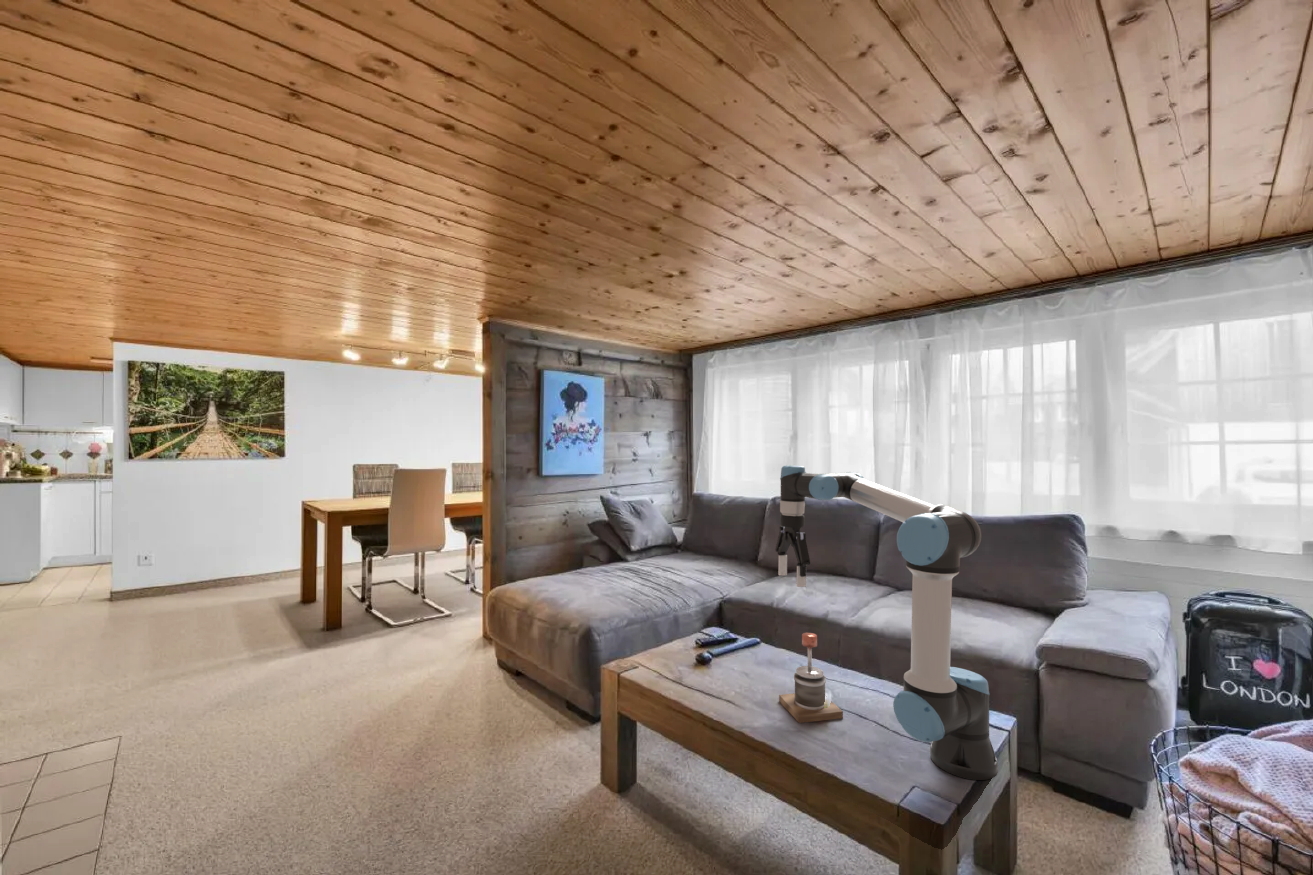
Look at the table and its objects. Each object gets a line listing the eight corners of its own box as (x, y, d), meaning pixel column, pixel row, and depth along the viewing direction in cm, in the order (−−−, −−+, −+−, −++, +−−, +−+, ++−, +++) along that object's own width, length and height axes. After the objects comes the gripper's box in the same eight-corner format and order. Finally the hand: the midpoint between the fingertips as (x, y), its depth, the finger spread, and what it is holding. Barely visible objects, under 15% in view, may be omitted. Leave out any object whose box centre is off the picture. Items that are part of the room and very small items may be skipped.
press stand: (842, 718, 164) (842, 684, 164) (799, 722, 161) (798, 688, 161) (819, 696, 178) (819, 665, 178) (779, 701, 175) (778, 669, 175)
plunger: (828, 677, 166) (827, 638, 167) (803, 680, 165) (803, 640, 165) (815, 667, 174) (815, 629, 174) (791, 669, 173) (791, 631, 173)
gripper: (822, 519, 164) (821, 591, 164) (786, 508, 189) (786, 570, 189) (799, 520, 163) (798, 592, 163) (765, 508, 187) (765, 571, 187)
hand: (791, 580), depth 176 cm, fingers open, 13 cm apart
